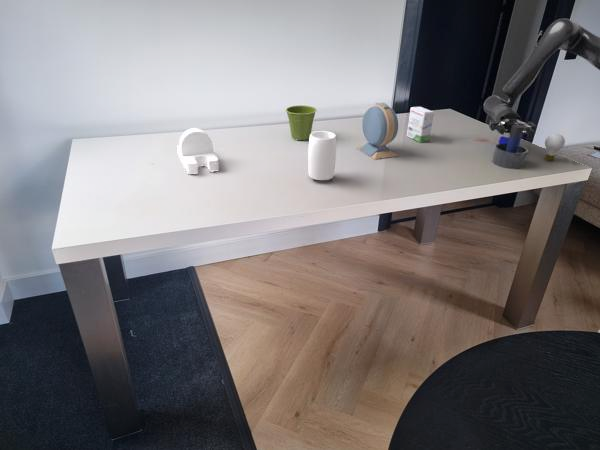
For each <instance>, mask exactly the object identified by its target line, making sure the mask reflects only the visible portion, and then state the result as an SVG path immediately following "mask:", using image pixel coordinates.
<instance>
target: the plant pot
mask: <svg viewBox="0 0 600 450" xmlns="http://www.w3.org/2000/svg"><path fill="white" fill-rule="evenodd" d="M285 112H286V114H287V118H288V123H289V128H290V134H291V139H293V138H294V139H297V140H296V141H298V140H299V141H307V140H306V139H308V140H309V138H310V134H311V133H312V129H313V124H314V119H315V115H316V113H317V112H318V111H317V108H316V107H314V106H311V105H304V104H303V105H291V106H288V107H286V108H285ZM294 139H293V140H294Z"/></svg>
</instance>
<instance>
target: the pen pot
mask: <svg viewBox="0 0 600 450" xmlns="http://www.w3.org/2000/svg"><path fill="white" fill-rule="evenodd" d="M507 144H508V143H501V144H499V143H497V144H495V147H494V151H493V155H492V158H491V162H492V164H494V165H495V166H498V167H500V168H504V169H509V170H518V169H522V168H524V165H525V163H526V160H527V155H528V153H529V150H528V149H527V148H526V147H525V146H523V145H520V144H519V145H518V147H517V150H516V153H512V152H507V151H506V148H507Z"/></svg>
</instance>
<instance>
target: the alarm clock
mask: <svg viewBox="0 0 600 450" xmlns="http://www.w3.org/2000/svg"><path fill="white" fill-rule="evenodd" d="M361 125H362V127H361V128H362V133H363V136H364V139H365V140H366V141H367V142H366V143H365V144H363V145H360V146H358V147H356V149H357V148H358V149H359V150H358V149H357V150H358V151H360V150H361V151H360V152H362V153H363V152H364V153H363V154H365V153H366V154H367V156H368V155H369V156H370V158H371V157H372V158H371V159H373V160H374V159H376V160H381V159H380V158H382V159H387V158H388V157H389V158H395V157H399V155H398V154H396V153H395V151H393V150H392V149H390V148H389V147H387V145H388V144H390V143H392V142H393V141H394V140H395V139H396V137H397V135H398V131H399V119H398V116H397V113H396V111H395V110H394V109H393V108H392V107H390V106H389V105H388V103H385V102H376V103H375V104H374V105H372V106H371V107H369V108H368V109H367V110H366V111H365V112H364V115H363V117H362V123H361ZM366 154H365V155H366ZM369 156H368V157H369Z"/></svg>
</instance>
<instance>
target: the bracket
mask: <svg viewBox="0 0 600 450" xmlns="http://www.w3.org/2000/svg"><path fill="white" fill-rule="evenodd" d="M176 150H177V156H179V157H178V159H179V158H180V159H179V161H180V160H181V161H180V163H181V162H182V163H181V165H182V164H183V165H182V167H183V166H184V167H183V169H184V168H185V169H186V171H187V173H189V174H192V173H198V174H199V168H197V166H201V165H203V166H207V167H208V169H209V170H210V171H211V170H218V169H219V170H220V165H219V158H218V157H217V155H216V154H215V153H214V144H213V140H212V139H211V137H210V136H209V134H208V133H207V132H206V131H205V130H204V129H201V128H197V127H192V128H188V129H187V130H185V131H184V132H183V133H182V134H181V136H180V137H179V142H178V144H176ZM185 169H184V170H185ZM208 169H207V170H208ZM209 170H208V171H209ZM186 171H185V172H186ZM187 173H186V174H187Z"/></svg>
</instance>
